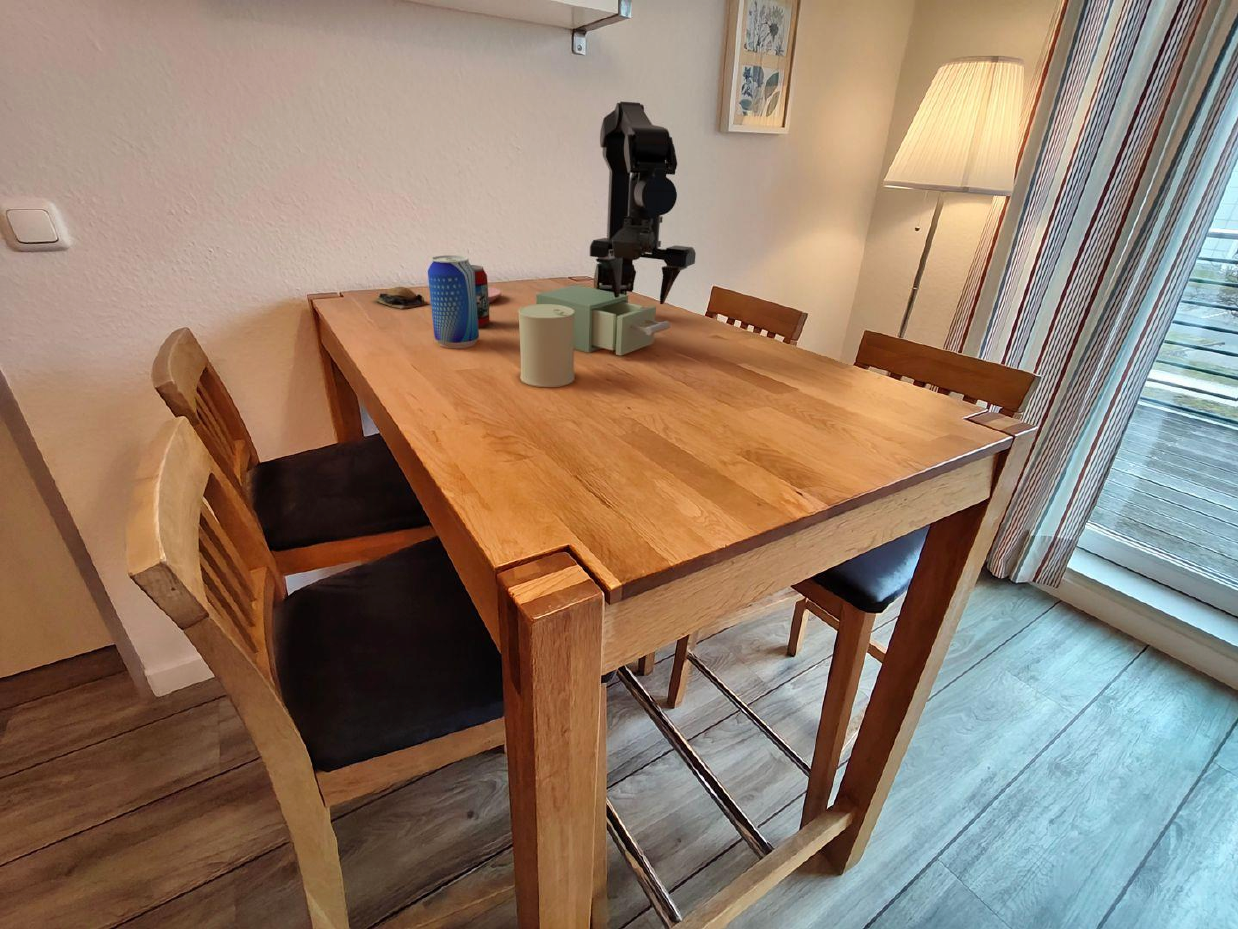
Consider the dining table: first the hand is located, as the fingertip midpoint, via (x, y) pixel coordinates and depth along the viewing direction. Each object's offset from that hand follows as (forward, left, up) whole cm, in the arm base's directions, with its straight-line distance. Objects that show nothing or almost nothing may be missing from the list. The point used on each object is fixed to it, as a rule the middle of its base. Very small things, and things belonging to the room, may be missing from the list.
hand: (639, 300), depth 110 cm
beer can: (+24, -26, -11) cm, 37 cm away
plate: (+2, -56, -11) cm, 57 cm away
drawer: (0, -3, -9) cm, 10 cm away
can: (+22, 0, -11) cm, 24 cm away
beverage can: (+14, -36, -11) cm, 40 cm away
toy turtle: (+18, -62, -11) cm, 65 cm away
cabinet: (+2, -14, -10) cm, 17 cm away
